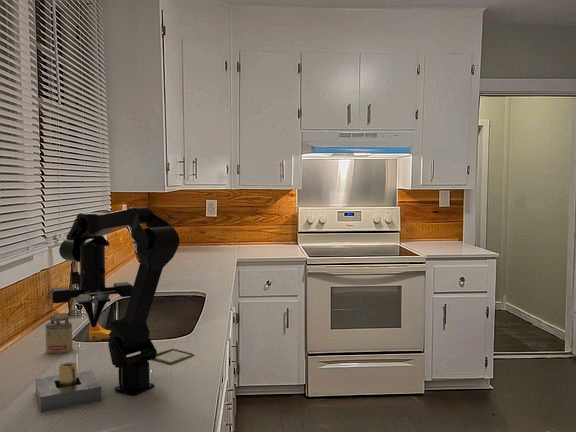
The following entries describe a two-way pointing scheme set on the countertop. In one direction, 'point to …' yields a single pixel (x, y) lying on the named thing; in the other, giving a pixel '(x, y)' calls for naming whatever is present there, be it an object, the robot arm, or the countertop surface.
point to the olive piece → (172, 361)
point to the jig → (67, 391)
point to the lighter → (59, 335)
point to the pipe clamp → (98, 332)
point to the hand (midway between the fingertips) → (93, 327)
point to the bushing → (67, 374)
